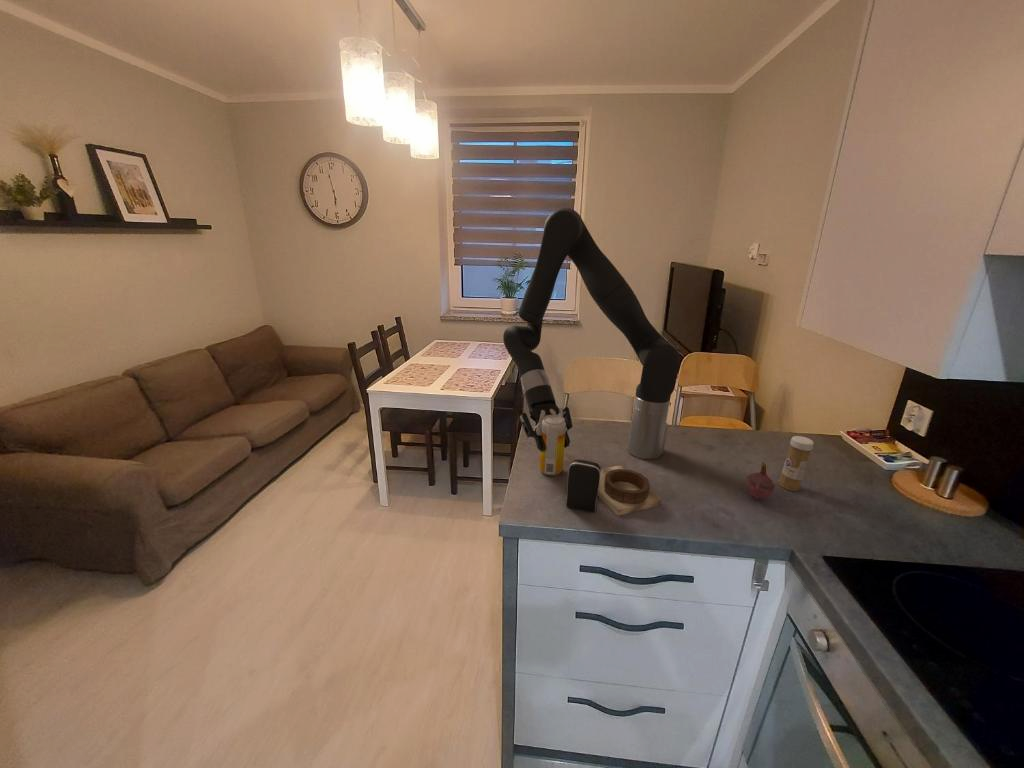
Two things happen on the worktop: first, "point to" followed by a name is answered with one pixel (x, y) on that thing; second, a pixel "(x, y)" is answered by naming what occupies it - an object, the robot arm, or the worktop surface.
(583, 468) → the battery charger
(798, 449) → the sprinkles bottle
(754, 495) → the vegetable
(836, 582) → the worktop surface
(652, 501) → the collar board
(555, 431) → the beer can
